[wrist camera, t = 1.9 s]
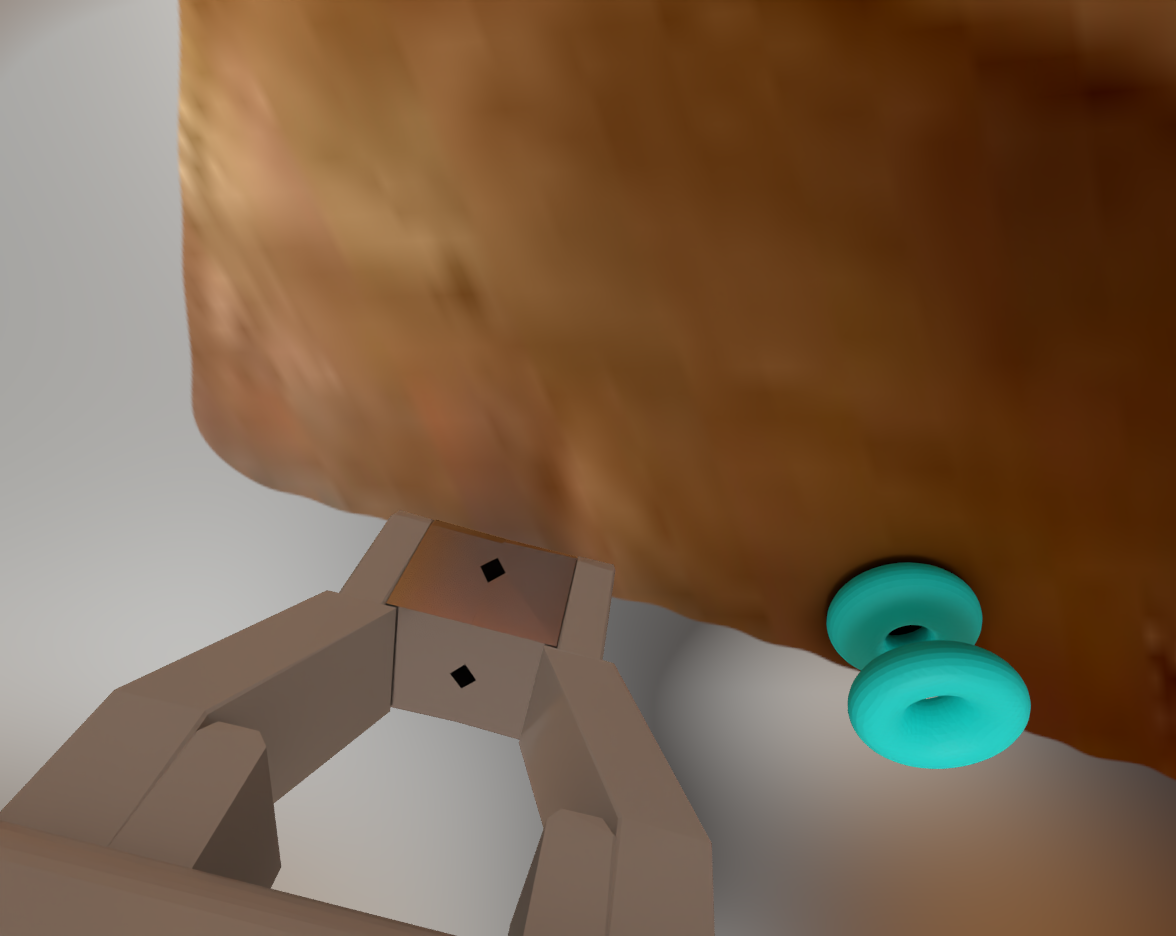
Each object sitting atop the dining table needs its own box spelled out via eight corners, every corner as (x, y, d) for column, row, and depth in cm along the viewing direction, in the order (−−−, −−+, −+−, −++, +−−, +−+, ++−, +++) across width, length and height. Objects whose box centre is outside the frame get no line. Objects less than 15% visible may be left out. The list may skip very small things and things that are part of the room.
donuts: (826, 755, 39) (903, 652, 34) (801, 635, 48) (860, 538, 42) (978, 794, 39) (1079, 697, 34) (927, 668, 48) (1001, 574, 42)
